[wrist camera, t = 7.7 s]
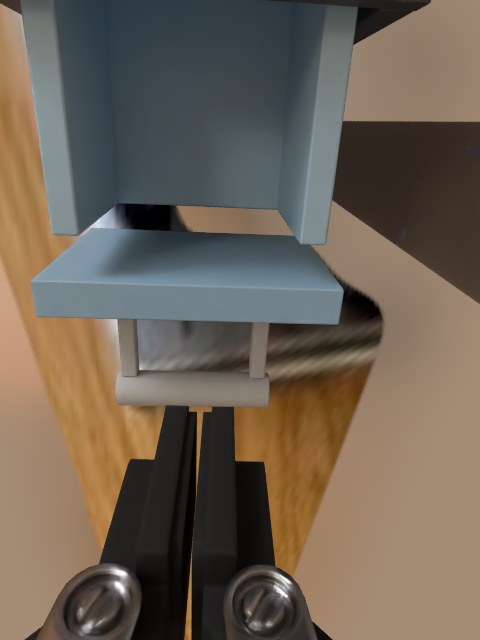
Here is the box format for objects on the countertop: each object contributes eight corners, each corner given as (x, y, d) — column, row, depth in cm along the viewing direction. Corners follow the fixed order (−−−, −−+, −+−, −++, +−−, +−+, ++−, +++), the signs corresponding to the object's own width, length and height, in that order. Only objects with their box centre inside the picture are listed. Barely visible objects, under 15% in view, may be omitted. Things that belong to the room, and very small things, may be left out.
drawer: (290, 354, 22) (319, 446, 16) (103, 350, 21) (56, 443, 15) (333, -20, 15) (410, -113, 9) (65, -41, 15) (-42, -154, 9)
